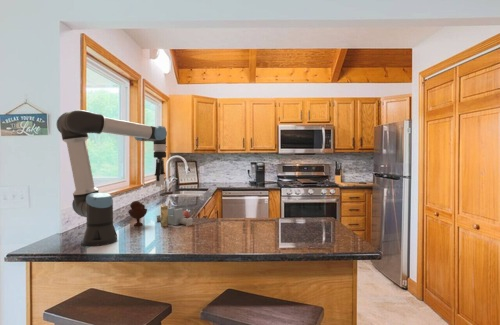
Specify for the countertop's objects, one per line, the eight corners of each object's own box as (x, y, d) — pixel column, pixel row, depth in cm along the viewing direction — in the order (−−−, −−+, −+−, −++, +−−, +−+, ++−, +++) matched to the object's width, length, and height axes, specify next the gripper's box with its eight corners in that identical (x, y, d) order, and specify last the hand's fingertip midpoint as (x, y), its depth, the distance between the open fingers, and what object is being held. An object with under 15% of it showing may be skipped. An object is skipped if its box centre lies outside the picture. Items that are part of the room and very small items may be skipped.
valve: (185, 226, 180) (185, 211, 179) (154, 222, 193) (154, 208, 192) (201, 221, 192) (201, 207, 192) (172, 218, 206) (171, 204, 205)
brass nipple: (164, 227, 179) (164, 206, 178) (159, 226, 181) (159, 206, 180) (169, 225, 182) (169, 205, 182) (164, 225, 184) (164, 205, 184)
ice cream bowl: (144, 227, 179) (143, 201, 179) (125, 227, 179) (124, 202, 179) (150, 223, 189) (150, 199, 189) (132, 223, 190) (132, 199, 189)
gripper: (163, 150, 177) (163, 187, 177) (168, 151, 202) (168, 183, 202) (149, 150, 176) (150, 187, 176) (157, 151, 201) (157, 183, 201)
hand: (160, 185), depth 189 cm, fingers open, 13 cm apart
